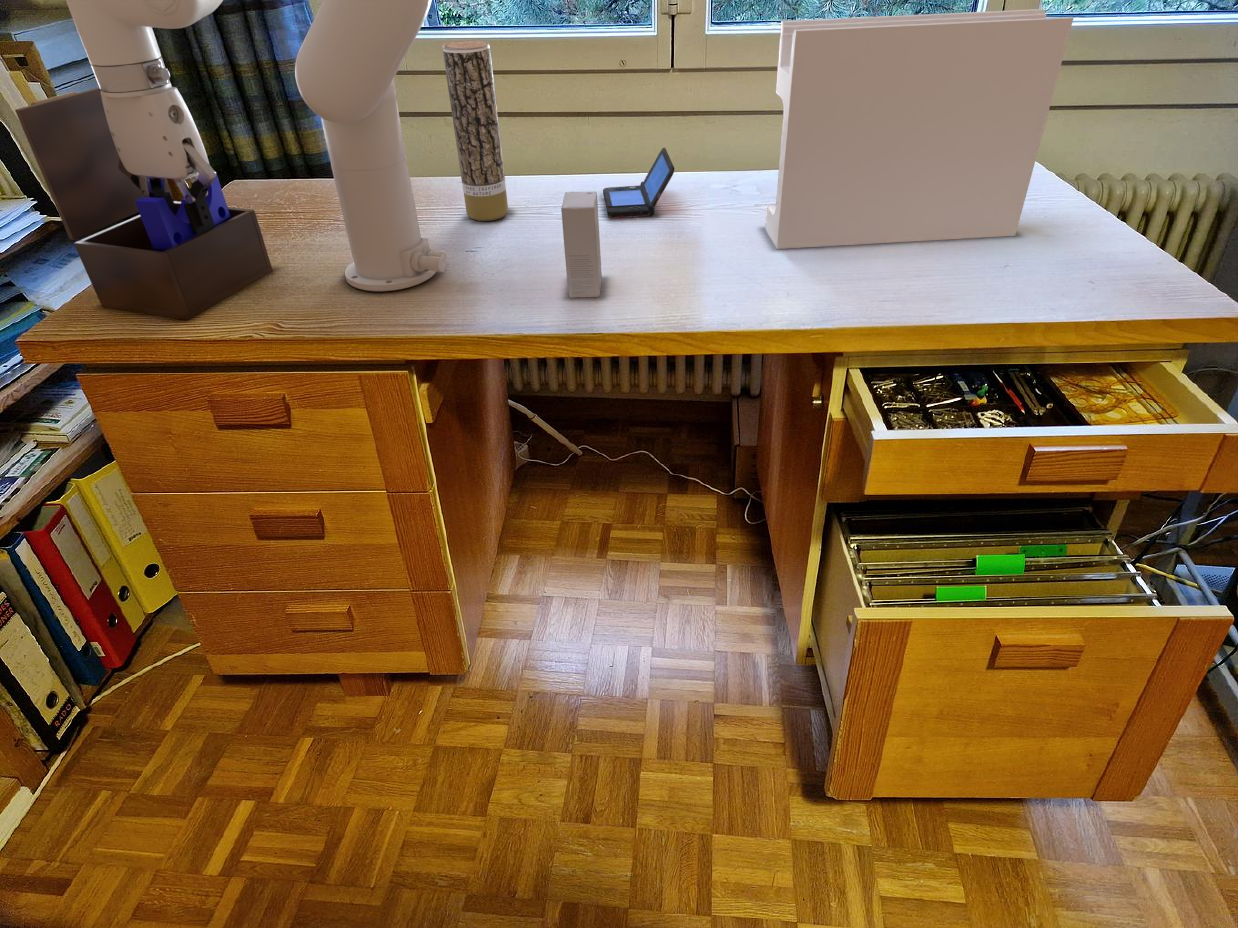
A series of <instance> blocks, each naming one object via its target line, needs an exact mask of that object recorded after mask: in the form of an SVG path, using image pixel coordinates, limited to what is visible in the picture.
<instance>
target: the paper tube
mask: <svg viewBox="0 0 1238 928" xmlns="http://www.w3.org/2000/svg"><path fill="white" fill-rule="evenodd" d="M441 47H442V56H443V63H444V70H445V74H446V83H447V89H448V96H449V97H448V98H449V103H450V110H451V117H452V123H453V131H454V137H455V143H456V145H455V146H456V151H457V158H458V165H459V172H460V179H461V185H462V190H463V198H464V205H465V211H466V215H467V216H468V218H470V219H471V220H474V221H480V222H490V221H495V220H499V219H501V218H504V217H505V216H507V214H508V212H509V204H508V203H509V202H508V195H507V193H508V192H507V185H506V176H505V175H506V174H505V166H504V159H503V158H504V157H503V150H502V139H501V132H500V131H501V130H500V123H499V115H498V107H497V106H498V105H497V97H496V96H497V95H496V89H495V81H494V79H495V78H494V72H493V71H494V70H493V63H492V54H491V46H490V42H489V41H485V40H459V41H451V42H447V43H445V44H443V45H442V46H441Z"/></svg>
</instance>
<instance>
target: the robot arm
mask: <svg viewBox="0 0 1238 928" xmlns="http://www.w3.org/2000/svg"><path fill="white" fill-rule="evenodd" d="M223 1H224V0H65V2H66V4H67V8H68V10H69V13H70V15H71V17H72V19H73V22H74V26H75V28H76V31H77V34H78V35H79V38H80V41H81V43H82V47H83V49H84V51H85V53H86V57H87V59H88V61H89V65H90V66H91V69H92V72H93V75H94V77H95V80H96V82H97V86H98V87H100V90H101V97H102V102H103V107H104V111H105V115H106V119H107V122H108V126H109V129H110V132H111V135H112V138H113V141H114V144H115V147H116V149H117V152H118V154H119V157H120V160H119V165H118V168H119V170H120V171H121V172H122V173H124V174H125V175H126V176H127V177H128V178H130V179H131V180H132V182H133V183H134V184H135V185H136V186H137V187H138V188H139V189H140V190H141V194H142V196H143V197H151V198H164V199H165V201H166V203H167V205H168V207H169V209H170V210H171V211H172V213H173V214H174V215H175V214H176V213H177V210H176V207H175V205H174V202H173V201H174V199H173V198H172V197H173V195H172V196H171V194H172V193H171V194H170V192H165V185H164V179H167V180H173V181H174V182H175V185H176V186H177V188H178V190H179V191H180V193H181V194H182V197H183V199H184V198H185V200H186V201H187V202H186V203H184V204H183V205H184V208H185V211H186V214H187V217H188V219H189V222H190V225H191V228H192V231H193V232H194V233H195V234H200V233H202V232H204V231H206V230H209V229H211V228H213V227H214V221H213V218H212V216H211V213H210V210H209V207H208V204H207V201H206V198H205V197H207V196H208V189H209V187H210V184H211V183H212V181H213V180H214V179H215V177H216V174H217V172H216V171H215V170H214V168H213V167H212V166H211V165H210V161H209V158H208V154H207V152H206V149H205V146H204V143H203V141H202V137H201V135H200V133H199V130H198V127H197V125H196V123H195V121H194V118H193V116H192V114H191V112H190V110H189V108H188V106H187V104H186V102H185V100H184V98H183V96H182V94H181V93H180V91H179V90H178V88H177V86H172V83H171V80H170V78H171V74H170V71H169V70H168V68H166V66H165V63H164V59H163V56H162V54H161V50H160V47H159V44H158V41H157V39H156V36H155V33H154V30H153V28H155V29H167V30H175V29H184V28H187V27H190V26H191V25H193V24H195V23H197V22H199V21H201V19H203V18H205V17H207V16H209V15H210V14H212V13H214V12H215V11H216V10H217V9H218V8H219V6H220V5H221V4H222V3H223ZM432 1H433V0H322V2H321V4H320V6H319V8H318V10H317V12H316V15H315V17H314V18H313V21H312V23H311V24H310V27H309V29H308V31H307V33H306V35H305V38H304V40H303V41H302V43H301V46H300V48H299V50H298V53H297V55H296V58H295V63H294V76H295V83H296V86H297V89H298V92H299V94H300V96H301V98H302V100H303V102H304V103H305V104H306V105H307V107H308V108H309V109H310V110H311V111H312V112H313V113H314V114H315V115H317V116H318V117H319V118H320V120H321V125H322V128H323V136H324V139H325V144H326V149H327V154H328V157H329V158H328V159H329V161H330V167H331V171H332V176H333V180H334V183H335V188H336V193H337V197H338V201H339V204H340V210H341V213H342V217H343V222H344V226H345V230H346V234H347V239H348V243H349V247H350V251H351V255H352V259H353V261H352V262H350V263H349V264H348V265H347V266H346V268H345V270H344V276H345V279H346V282H347V284H348V285H350V286H352V288H353V287H354V288H355V289H359V290H362V291H369V292H390V291H391V292H392V291H398V290H403V289H408V288H412V287H415V286H418V285H420V284H422V283H425V282H426V281H428V280H430V279H431V278H433V276H434V275H436V273H437V272H439V273H443V272H445V270H446V268H447V257H448V256H447V253H446V252H445V251H441V250H432V249H431V248H430V247H431V246H430V242H429V238H427V237H426V238H424V237H422V236H421V230H420V224H419V219H418V214H417V213H418V212H417V209H416V208H417V207H416V202H415V198H414V192H413V187H412V181H411V175H410V170H409V166H408V165H409V163H408V159H407V152H406V146H405V141H404V136H403V129H402V123H401V117H400V110H399V105H398V96H397V95H398V94H397V88H396V81H395V77H396V75H397V73H398V71H399V70H400V67H401V66H402V64H403V62H404V60H405V58H406V56H407V54H408V52H409V51H410V49H411V47H412V45H413V44H414V42H415V39H416V38H417V36H418V34H419V32H420V30H421V28H422V26H423V24H424V22H425V21H426V18H427V16H428V14H429V11H430V8H431V5H432ZM152 178H153V180H152ZM188 180H189V181H190V183H191V182H192V185H191V186H189V184H188V182H187V181H188ZM164 192H165V193H164Z"/></svg>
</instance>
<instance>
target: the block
mask: <svg viewBox="0 0 1238 928" xmlns="http://www.w3.org/2000/svg"><path fill="white" fill-rule="evenodd" d="M1046 11H1047V10H1046V9H1044V8H1034V9H1013V10H1012V9H1011V10H1010V9H1009V10H989V11H971V12H970V11H967V12H948V13H947V12H946V13H945V12H944V13H926V14H925V13H924V14H923V13H922V14H904V15H903V14H901V15H884V16H883V15H882V16H860V17H841V18H840V17H839V18H838V17H837V18H818V19H801V20H800V19H798V20H781V21H780V36H779V46H778V60H777V71H776V72H777V74H776V83H775V85H776V86H775V94H776V95H777V96H778V97H779V98H780V99H781V101H782V104H783V105H782V107H783V108H782V109H783V114H782V127H781V138H780V139H781V140H780V151H779V163H778V172H777V173H778V174H777V183H776V196H775V197H776V198H775V205H766V215H765V227H764V229H765V231H766V233H767V235H768V236H769V238H770V240H771V241H772V243H773V245H774V247H775V248H776V250H782V249H783V250H784V249H785V250H786V249H801V248H822V247H837V246H855V245H875V244H890V243H893V244H894V243H909V242H912V243H913V242H927V241H944V240H946V241H948V240H965V239H981V238H999V237H1015V236H1016V235H1017V231H1018V227H1019V224H1020V220H1021V217H1022V212H1023V209H1024V205H1025V201H1026V197H1027V193H1028V190H1029V186H1030V182H1031V178H1032V175H1033V171H1034V167H1035V163H1036V161H1037V157H1038V152H1039V148H1040V145H1041V142H1042V137H1043V134H1044V131H1045V126H1046V123H1047V119H1048V115H1049V111H1050V107H1051V104H1052V101H1053V97H1054V92H1055V89H1056V87H1057V81H1058V78H1059V74H1060V70H1061V67H1062V63H1063V59H1064V55H1065V51H1066V48H1067V44H1068V40H1069V36H1070V33H1071V30H1072V26H1073V21H1074V17H1071V16H1061V17H1058V16H1057V17H1047V14H1046Z"/></svg>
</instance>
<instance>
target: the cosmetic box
mask: <svg viewBox="0 0 1238 928" xmlns="http://www.w3.org/2000/svg"><path fill="white" fill-rule="evenodd" d="M561 204H562V205H561V221H562V222H561V223H562V234H563V236H562V237H563V247H564V258H565V272H566V282H567V295H568V298H571V299H572V298H573V299H575V298H599V297H600V296H601V289H602V278H603V274H602V257H601V240H600V239H601V238H600V223H599V203H598V192H597V191H596V190H595V191H565V192H564V195H563V199H562V203H561Z"/></svg>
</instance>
